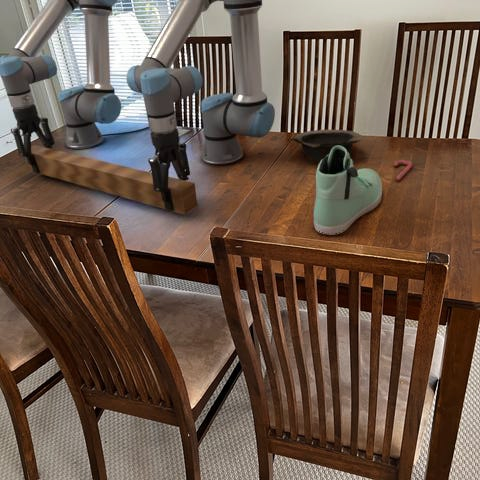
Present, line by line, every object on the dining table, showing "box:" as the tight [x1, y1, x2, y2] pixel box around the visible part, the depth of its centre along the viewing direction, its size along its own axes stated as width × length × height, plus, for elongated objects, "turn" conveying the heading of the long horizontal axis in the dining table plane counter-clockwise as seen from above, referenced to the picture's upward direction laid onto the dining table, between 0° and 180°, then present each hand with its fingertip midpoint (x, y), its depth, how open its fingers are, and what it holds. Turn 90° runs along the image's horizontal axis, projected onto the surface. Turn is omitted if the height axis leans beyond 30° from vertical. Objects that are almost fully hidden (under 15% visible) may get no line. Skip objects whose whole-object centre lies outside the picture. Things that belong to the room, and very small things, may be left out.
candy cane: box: [393, 159, 413, 182], centre depth 157 cm, size 6×15×2 cm, turn 145°
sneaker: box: [313, 146, 383, 236], centre depth 133 cm, size 14×35×20 cm, turn 152°
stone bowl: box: [292, 129, 365, 164], centre depth 172 cm, size 25×25×9 cm
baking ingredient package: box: [177, 128, 191, 138], centre depth 205 cm, size 9×1×15 cm
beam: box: [23, 144, 199, 216], centre depth 156 cm, size 75×6×8 cm, turn 56°
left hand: (44, 168), depth 174 cm, fingers closed on beam, 6 cm apart
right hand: (176, 204), depth 142 cm, fingers closed on beam, 6 cm apart
